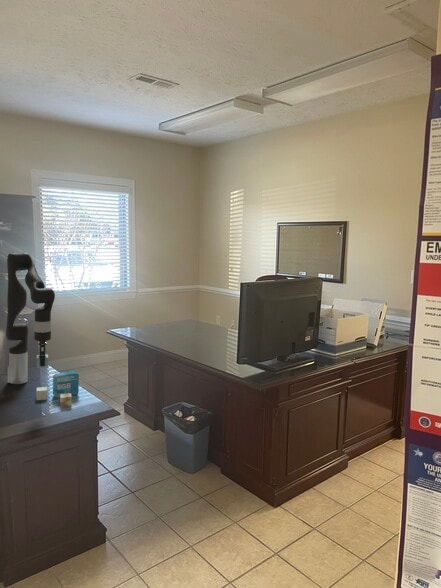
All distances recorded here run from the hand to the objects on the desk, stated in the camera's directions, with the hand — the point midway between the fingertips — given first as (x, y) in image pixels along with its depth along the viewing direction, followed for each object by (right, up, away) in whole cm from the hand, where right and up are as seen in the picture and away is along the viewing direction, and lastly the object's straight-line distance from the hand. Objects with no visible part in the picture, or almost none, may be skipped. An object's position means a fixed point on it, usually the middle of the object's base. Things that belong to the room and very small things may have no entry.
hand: (42, 364), depth 206 cm
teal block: (0, -1, 0) cm, 1 cm away
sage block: (-6, -20, +13) cm, 24 cm away
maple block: (+9, -21, +6) cm, 24 cm away
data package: (+5, -20, +18) cm, 27 cm away
